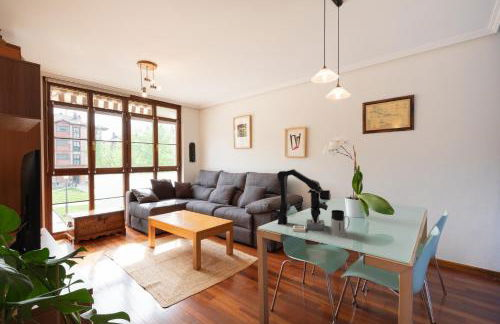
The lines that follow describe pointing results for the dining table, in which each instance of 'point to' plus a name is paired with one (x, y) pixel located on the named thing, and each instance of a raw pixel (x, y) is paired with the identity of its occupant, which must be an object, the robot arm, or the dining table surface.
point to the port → (315, 225)
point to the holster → (299, 228)
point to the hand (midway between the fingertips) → (315, 221)
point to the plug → (317, 220)
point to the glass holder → (338, 223)
